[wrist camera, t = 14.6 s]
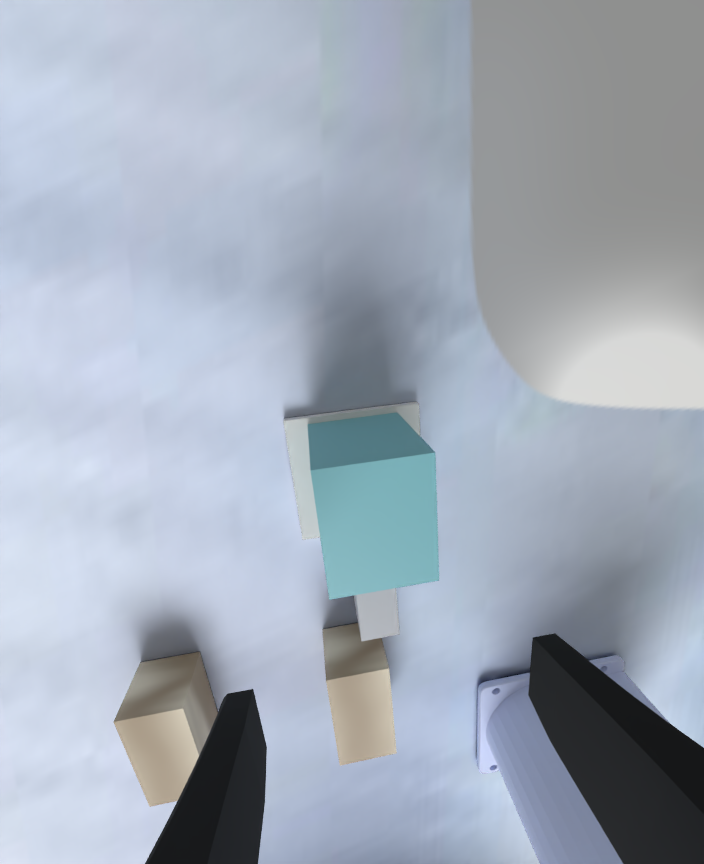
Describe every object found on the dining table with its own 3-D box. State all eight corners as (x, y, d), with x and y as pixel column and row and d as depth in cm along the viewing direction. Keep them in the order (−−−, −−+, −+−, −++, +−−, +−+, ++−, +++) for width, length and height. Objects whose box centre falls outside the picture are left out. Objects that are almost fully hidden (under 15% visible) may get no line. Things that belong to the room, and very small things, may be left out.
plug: (397, 412, 17) (435, 452, 12) (408, 593, 20) (442, 681, 15) (307, 424, 16) (310, 470, 12) (333, 606, 20) (344, 701, 15)
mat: (416, 401, 17) (418, 403, 17) (421, 516, 19) (423, 520, 19) (283, 418, 17) (283, 421, 16) (302, 535, 19) (302, 540, 18)
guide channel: (376, 619, 21) (389, 668, 18) (384, 697, 23) (396, 753, 20) (140, 662, 20) (113, 722, 17) (169, 741, 22) (149, 806, 19)
